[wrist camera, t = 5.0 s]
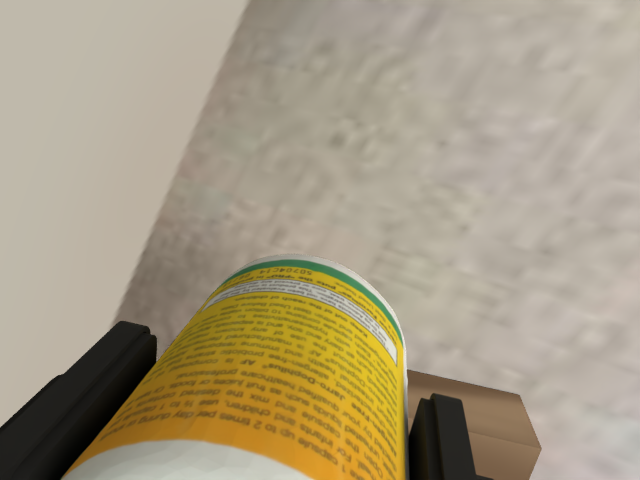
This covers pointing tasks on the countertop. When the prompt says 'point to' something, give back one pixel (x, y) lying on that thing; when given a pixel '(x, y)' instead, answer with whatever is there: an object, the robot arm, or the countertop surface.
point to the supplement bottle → (269, 386)
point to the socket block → (485, 425)
